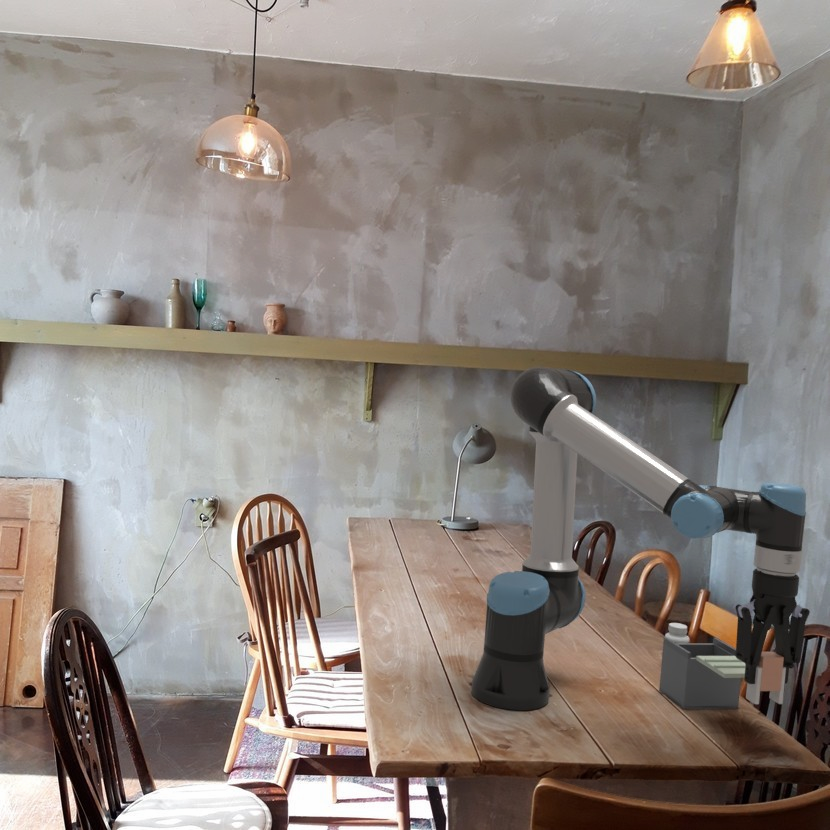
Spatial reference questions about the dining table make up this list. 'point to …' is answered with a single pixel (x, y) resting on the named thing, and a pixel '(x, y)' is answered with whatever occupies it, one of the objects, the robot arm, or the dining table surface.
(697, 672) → the tub
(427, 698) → the dining table surface
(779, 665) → the green and tan block
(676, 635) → the pill bottle
